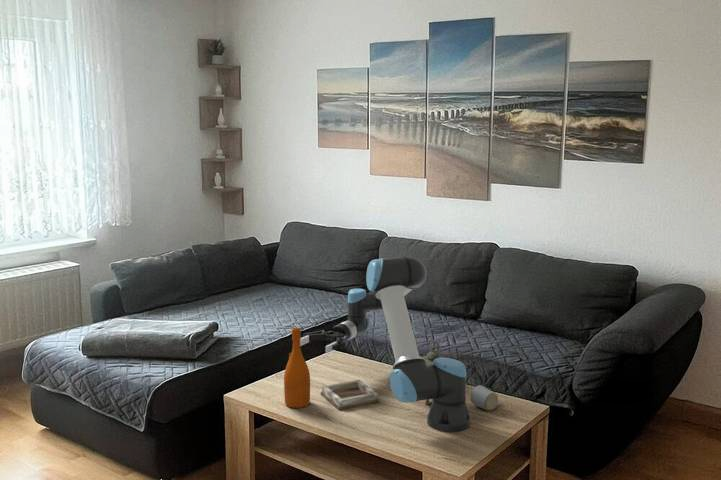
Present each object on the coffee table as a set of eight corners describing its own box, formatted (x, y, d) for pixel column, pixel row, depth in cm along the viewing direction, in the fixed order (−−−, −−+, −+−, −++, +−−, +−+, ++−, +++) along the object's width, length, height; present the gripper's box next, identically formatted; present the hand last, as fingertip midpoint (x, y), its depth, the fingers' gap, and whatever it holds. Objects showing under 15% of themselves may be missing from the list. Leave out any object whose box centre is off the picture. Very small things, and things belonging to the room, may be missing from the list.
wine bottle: (312, 399, 293) (311, 324, 288) (308, 409, 284) (307, 332, 278) (287, 398, 294) (285, 323, 289) (282, 408, 285) (280, 331, 279)
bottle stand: (379, 402, 290) (379, 393, 290) (338, 410, 283) (338, 401, 282) (359, 387, 305) (359, 379, 305) (320, 394, 298) (320, 386, 297)
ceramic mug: (485, 413, 280) (486, 393, 279) (469, 406, 286) (470, 387, 285) (505, 407, 286) (506, 388, 285) (489, 400, 293) (490, 381, 291)
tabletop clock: (452, 407, 286) (454, 343, 281) (432, 412, 281) (434, 347, 277) (430, 394, 298) (431, 333, 293) (411, 399, 294) (411, 336, 289)
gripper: (369, 346, 305) (338, 362, 288) (319, 335, 319) (287, 349, 301) (369, 328, 304) (338, 343, 286) (318, 318, 317) (286, 331, 300)
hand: (311, 346), depth 294 cm, fingers open, 13 cm apart
